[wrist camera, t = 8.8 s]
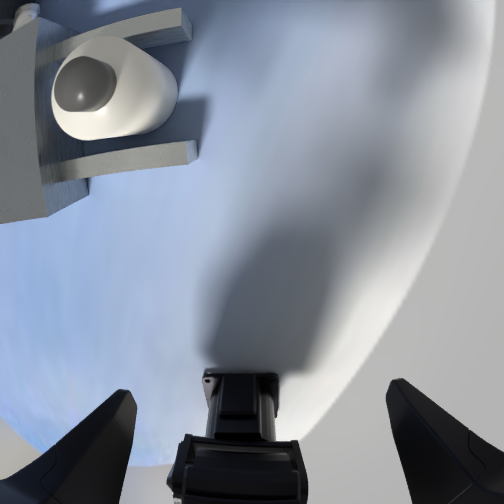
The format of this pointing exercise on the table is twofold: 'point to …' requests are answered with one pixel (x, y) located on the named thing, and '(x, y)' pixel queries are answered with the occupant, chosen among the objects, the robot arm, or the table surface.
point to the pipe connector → (9, 14)
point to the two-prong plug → (43, 120)
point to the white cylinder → (112, 90)
